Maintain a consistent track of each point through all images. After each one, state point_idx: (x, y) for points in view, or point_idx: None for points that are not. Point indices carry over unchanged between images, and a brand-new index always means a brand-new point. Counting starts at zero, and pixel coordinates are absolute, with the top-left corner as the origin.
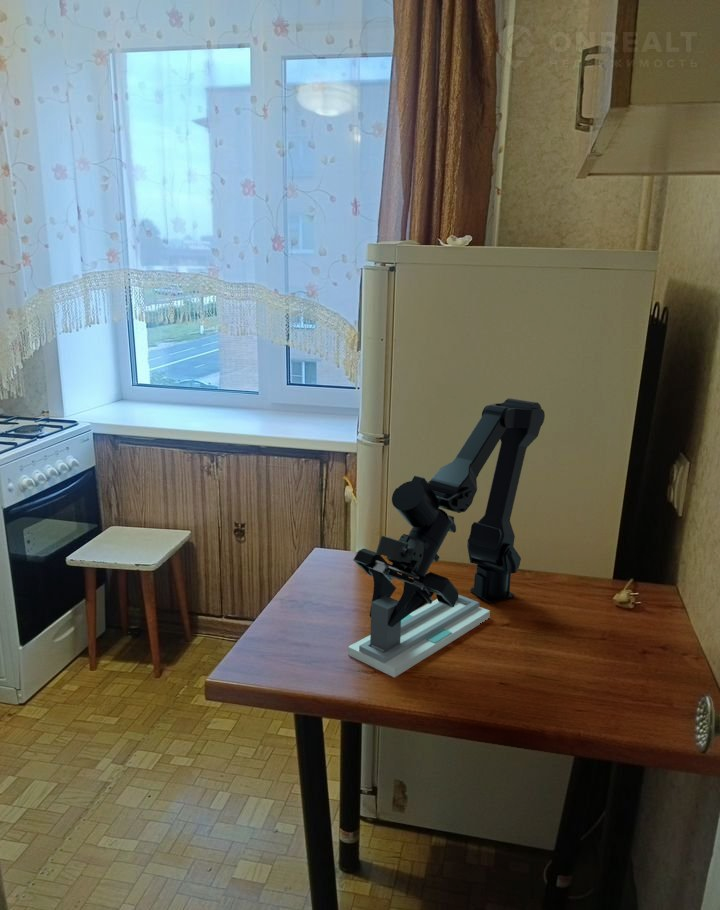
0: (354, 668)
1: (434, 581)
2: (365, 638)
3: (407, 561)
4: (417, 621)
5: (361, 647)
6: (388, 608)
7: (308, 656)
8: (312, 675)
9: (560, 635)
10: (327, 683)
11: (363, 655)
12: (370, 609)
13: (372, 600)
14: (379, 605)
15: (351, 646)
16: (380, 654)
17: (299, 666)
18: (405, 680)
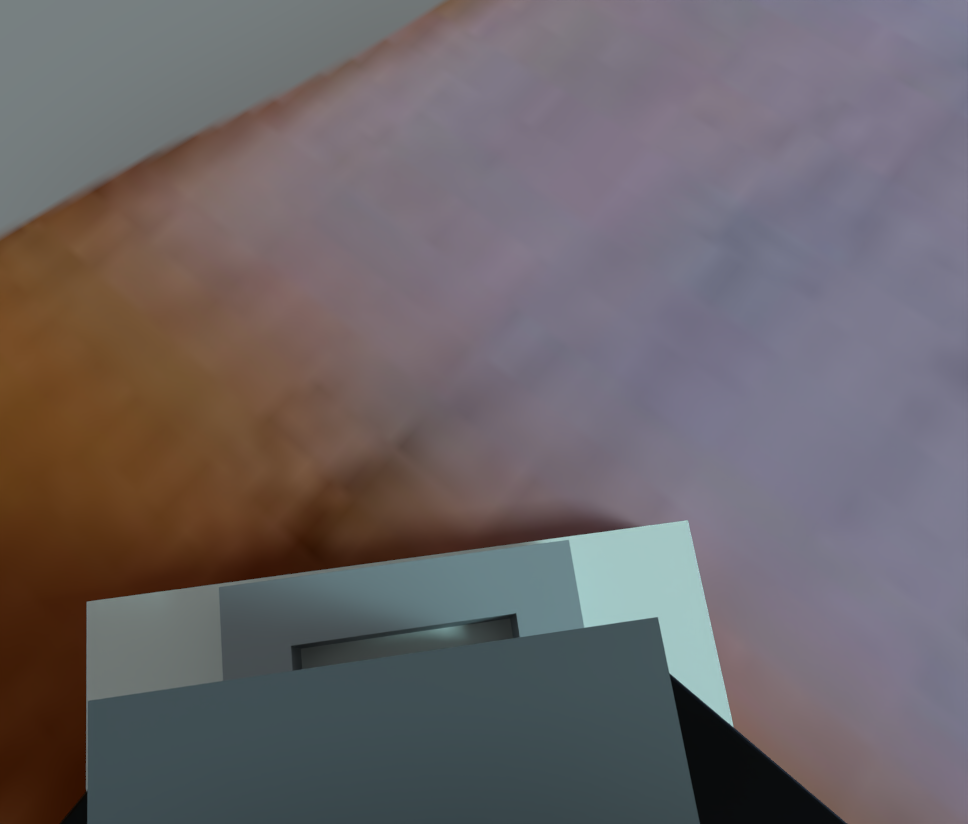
0: (460, 442)
1: None
2: None
3: None
4: None
5: (539, 546)
6: (102, 740)
7: (815, 282)
8: (575, 158)
9: None
10: (426, 172)
11: (490, 549)
12: (694, 694)
13: (826, 820)
14: (397, 665)
15: (672, 547)
16: (293, 597)
17: (727, 161)
18: (17, 662)
